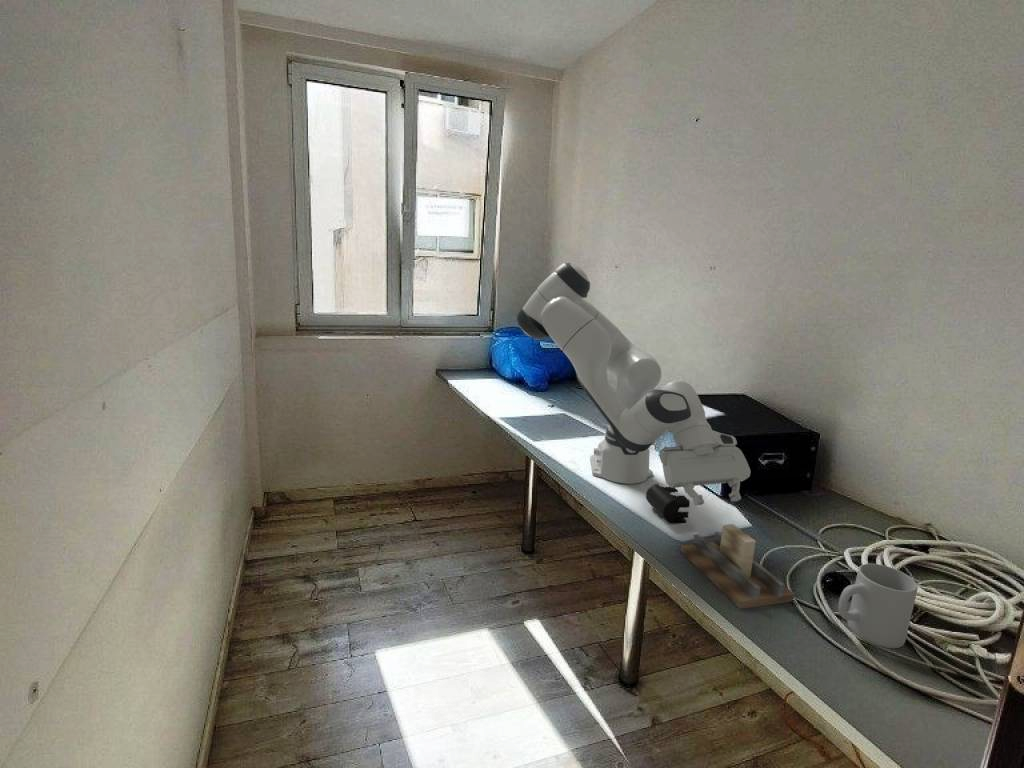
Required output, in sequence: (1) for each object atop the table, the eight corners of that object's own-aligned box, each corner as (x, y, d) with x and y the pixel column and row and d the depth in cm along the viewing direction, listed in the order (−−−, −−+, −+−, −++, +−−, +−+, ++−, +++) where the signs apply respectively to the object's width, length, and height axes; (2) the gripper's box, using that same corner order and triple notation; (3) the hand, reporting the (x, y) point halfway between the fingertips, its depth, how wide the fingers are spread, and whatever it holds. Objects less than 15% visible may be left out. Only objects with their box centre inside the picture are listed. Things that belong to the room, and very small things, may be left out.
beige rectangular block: (718, 559, 109) (723, 525, 107) (728, 557, 110) (732, 524, 108) (740, 578, 102) (745, 542, 101) (750, 576, 103) (755, 541, 101)
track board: (681, 551, 114) (683, 535, 113) (727, 546, 117) (729, 530, 116) (740, 608, 95) (743, 590, 94) (793, 600, 98) (797, 582, 97)
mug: (878, 614, 95) (890, 562, 93) (917, 648, 87) (932, 591, 84) (818, 616, 94) (828, 563, 92) (852, 650, 86) (864, 593, 83)
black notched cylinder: (644, 507, 135) (646, 483, 134) (668, 506, 137) (671, 482, 135) (661, 526, 126) (664, 500, 124) (688, 524, 127) (691, 499, 125)
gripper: (663, 441, 114) (683, 501, 107) (741, 436, 119) (765, 493, 112) (651, 453, 119) (669, 511, 112) (726, 448, 124) (748, 503, 117)
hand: (718, 502), depth 112 cm, fingers open, 8 cm apart
